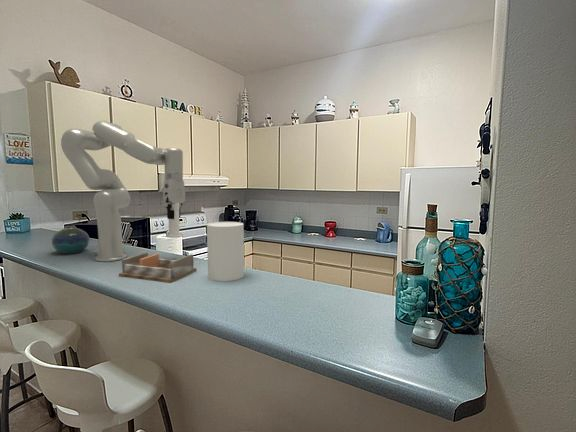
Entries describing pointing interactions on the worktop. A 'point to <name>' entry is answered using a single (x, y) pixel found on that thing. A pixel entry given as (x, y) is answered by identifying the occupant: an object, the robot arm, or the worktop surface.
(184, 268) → the grey brown open box
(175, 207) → the candle
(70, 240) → the vase
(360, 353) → the worktop surface
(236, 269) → the canister
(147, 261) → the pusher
